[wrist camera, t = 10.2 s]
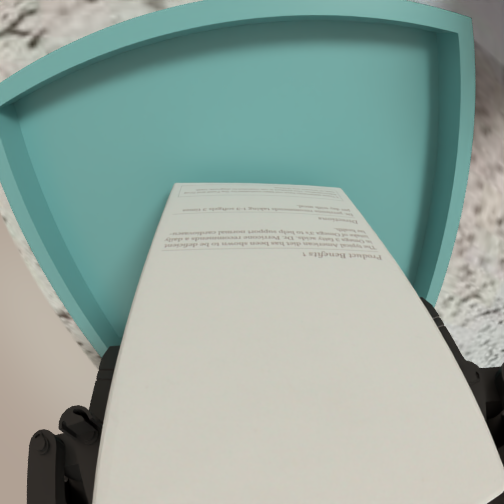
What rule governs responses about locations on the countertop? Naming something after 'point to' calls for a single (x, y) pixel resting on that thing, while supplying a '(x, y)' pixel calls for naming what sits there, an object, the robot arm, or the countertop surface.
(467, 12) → the countertop surface
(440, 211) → the teal tray
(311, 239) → the supplement box
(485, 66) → the countertop surface
